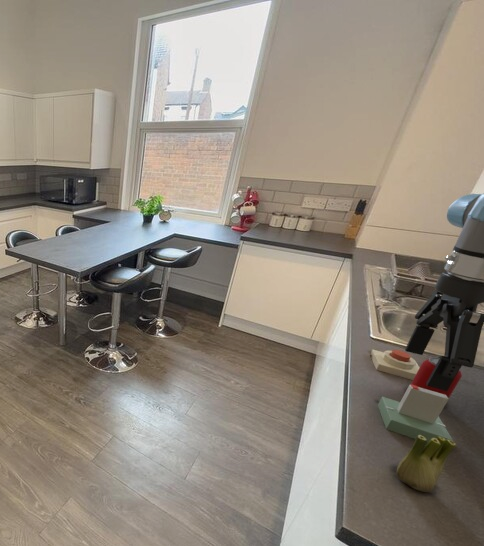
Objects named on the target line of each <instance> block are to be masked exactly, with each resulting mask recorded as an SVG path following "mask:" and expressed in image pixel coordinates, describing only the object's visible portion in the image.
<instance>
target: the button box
mask: <svg viewBox="0 0 484 546" xmlns="http://www.w3.org/2000/svg"><path fill="white" fill-rule="evenodd" d="M391 352H392V350H387V349H386V350H384V351H381V350H376V349H372V350H371V352H370V354H369V356H370V358H371V360H372V364H373V365H374V368H375V370H376V371H379V372H383V373H387V374H389V375H394V376H398V377H401V378H405V379H408V380H412V381H413V379H414V377H415V376H416V374H417V372H418V370H419V368H420V366H419V364H418V363H417V361H416V360H415V359H414V358H413V357H411V358H410V360H409V362H403V361H399V360H397V359H394V358H393V357H391V356H390V355H391Z"/></svg>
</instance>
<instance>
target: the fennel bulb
mask: <svg viewBox="0 0 484 546" xmlns="http://www.w3.org/2000/svg"><path fill="white" fill-rule="evenodd" d="M426 442H427V439H426V438H425V437H423V436H422V435H418V436H417V438H416V439H414V442H413V444H412V446H411V448H410V449H409V451H408V453H407V454H406V455H405V456H404V457H403V459H401V460H400V462H399V463H398V465H397V468H396V476H397V478H398V479H399V480H400V481H402V482H403V483H405V484H406V485H408V486H409V487H411V488H412V489H413V490H416V491H418V492H421V493H431V492H432V491H433V489H434V488H435V486H436V484H437V482H438V481H439V479H440V476H441V474H442V472H443V470H444V467H445V462H446V460H447V458H448V457H449V455H450V454H451V453H452V451H453V450H454V449H455V448H456V447H457V446H458V445H457V443H456V442H454V441H451V440H445V438H442V437H440V436H438V437H437V439H436V438H432V439H431V440H430V441H429V442H428V443H426Z"/></svg>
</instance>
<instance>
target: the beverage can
mask: <svg viewBox="0 0 484 546" xmlns="http://www.w3.org/2000/svg"><path fill="white" fill-rule="evenodd" d="M438 360H439V356H431V357H429V358H428V359H426V360H423V361H422V363H421V364H420V366H419V367H420V368H419V370H418V372H417V374H416V376H415V377H414V379H413V380H412V381H411V383H410V385H411V384H412V385H416V386H417V387H420V388H423V389H427V390H430V391H434V392H437V393H441V394H444V395H446V396H447V397H448V399H449V398H450V397H451V396H452V394H453V392H454V390H455V388H456V387H457V386H458V384H459V382H460V380H461V378H462V376H463V375H462V374H463V373H462V371H461V370H462V369H461V368H462V367H461V368H460V370H459V372H458V373H457V375H456V377H455V379H454V380H453V382H452V384H451V385H450V387H449V389H448V391H444V390H440V389H437V388H433V387H429V386H427V385H426V383H427V381H428V379H429V377H430V375H431V373H432V372H433V370H434V368H435V366H436V364H437V362H438ZM449 400H450V399H449Z"/></svg>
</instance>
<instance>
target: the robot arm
mask: <svg viewBox="0 0 484 546" xmlns="http://www.w3.org/2000/svg"><path fill="white" fill-rule="evenodd" d="M446 219H447V222H448V223H449V224H451V225H452V226H454V227H456V228H460V229H461V231H460V233H459V236H458V237H457V240H456V242H455V244H454V246H453V248H452V251H451V252H450V255H446V256H445V258H444V260H445V261H446V263H445V264H444V267H443V268H444V270H445V271H443V272H440V275H439V277H438V278H437V281H436V283H435V285H434V289H435V290H434V291H433V293H432V295H431V296H430V297H429V299H427V300H426V302H425V303H424V304H423V305H422V307H421V308H420V309H419V310H418V311H417V312H416V314H415V315H414V319H415V320H416V323H415V324H416V325H415V328H414V330H413V331H412V334H411V336H410V338H409V340H408V342H407V345H406V346H405V348H404V352H406V353H411V354H415V355H418V356H419V355H420V356H423V354H424V353H425V350H426V349H427V347H428V345H429V343H430V341H431V339H432V337H433V335H434V334H435V329H437V330H438V328H439V324H441V323H442V324H443V326H444V327H446V330H445V343H444V355H440V356H438V358H439V360H438V362H437V364H436V366H435V368H434V370H433V372H432V373H431V375H430V377H429V379H428V381H427V383H426V385H427V386H429V387H433V388H437V389H440V390H444V391H448V389H449V387H450V385H451V384H452V382H453V380H454V379H455V377H456V375H457V373H458V372H459V370H460V368H462V367H467V368H473V367H474V365H475V361H476V356H477V352H478V348H479V344H480V339H481V334H482V330H483V326H484V312H477V309H478V305H480V304H482V303H483V304H484V193H471V194H466V195H463V196H461V197H459V198H457V199H456V200H455V201H453V202H452V203H451V204H450V205H449V207H448V209H447V212H446ZM460 371H461V370H460Z"/></svg>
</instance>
